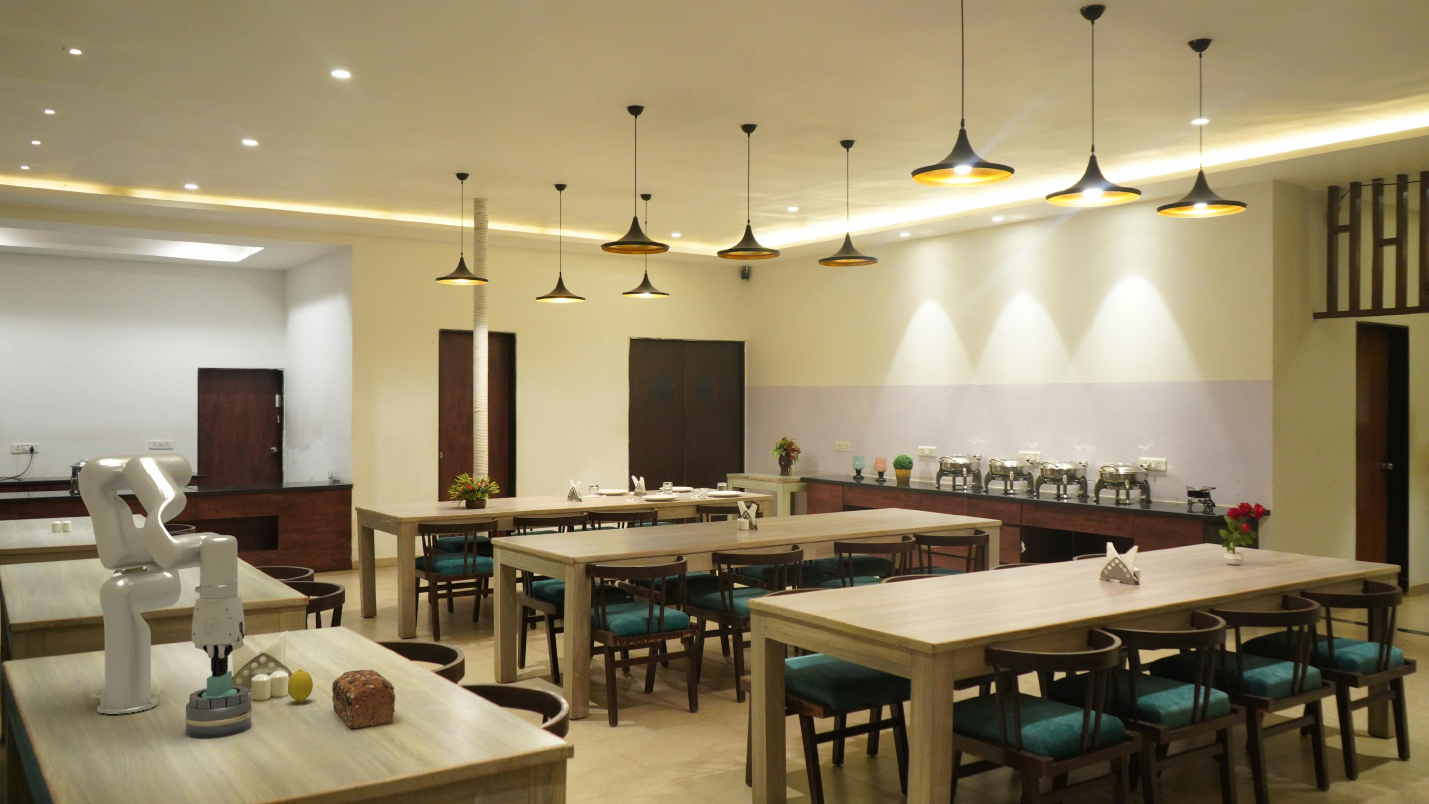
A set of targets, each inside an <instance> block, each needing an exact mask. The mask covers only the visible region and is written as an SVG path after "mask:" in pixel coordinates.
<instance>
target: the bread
mask: <svg viewBox="0 0 1429 804" xmlns="http://www.w3.org/2000/svg"><path fill="white" fill-rule="evenodd" d="M331 689H332V690H331V691H332V697H331V698H332V703H333V704H332V705H333V710H334V712H335V714H337V716H338V717H339V718H340V719H341V721H342V722H343V723H344V724H345V725H346V726H347V727H348V728H349V729H362V728H369V726H370V727H375V726H374V725H377V726H383V725H382V724H384V725H388V724H390V723H391V722H393V719H394V713H395V707H396V705H395V703H396V694H395V691H394V690H395V686H393V683H391V682H390V681H389V680H388V679H387V678H385V677H384V676H383V675H381V674H380V672H378V671H376V670H374V669H373V670H372V669H360V670H349V671H346V672H343V673H342V675H339V677H337V678H335V679H334V681H333V682H332V686H331ZM387 723H388V724H387Z"/></svg>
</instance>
